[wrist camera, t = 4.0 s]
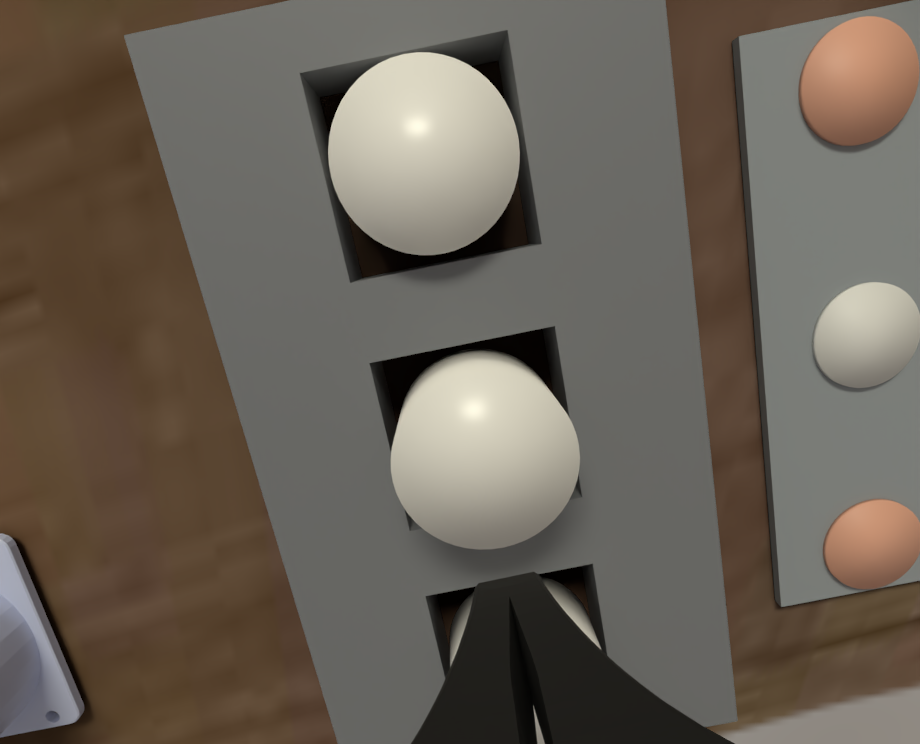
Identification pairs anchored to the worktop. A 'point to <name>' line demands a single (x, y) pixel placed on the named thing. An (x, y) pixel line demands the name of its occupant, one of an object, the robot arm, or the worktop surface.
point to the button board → (455, 330)
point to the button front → (424, 153)
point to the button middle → (483, 451)
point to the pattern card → (836, 293)
